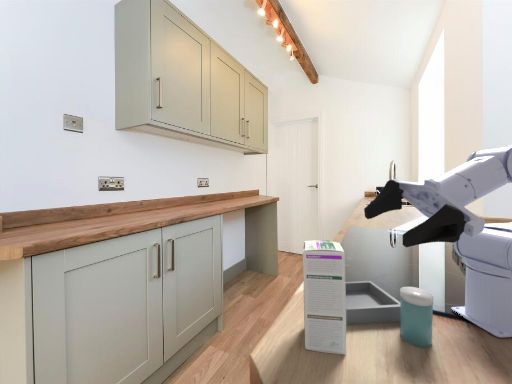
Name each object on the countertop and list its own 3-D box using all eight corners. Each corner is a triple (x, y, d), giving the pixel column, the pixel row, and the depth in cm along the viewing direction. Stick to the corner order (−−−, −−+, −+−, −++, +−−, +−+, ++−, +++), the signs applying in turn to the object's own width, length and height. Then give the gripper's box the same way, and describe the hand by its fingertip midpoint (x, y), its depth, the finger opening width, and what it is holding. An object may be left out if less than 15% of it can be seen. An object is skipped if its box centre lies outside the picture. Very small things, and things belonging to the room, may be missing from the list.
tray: (370, 292, 50) (370, 280, 50) (405, 320, 40) (405, 306, 40) (323, 294, 49) (323, 283, 49) (346, 324, 39) (346, 309, 39)
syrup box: (347, 356, 32) (347, 250, 31) (303, 350, 33) (302, 248, 32) (340, 330, 37) (341, 240, 37) (303, 326, 38) (303, 239, 38)
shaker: (417, 328, 38) (418, 286, 37) (439, 346, 33) (440, 298, 33) (393, 330, 37) (394, 287, 37) (413, 348, 33) (413, 300, 33)
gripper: (415, 154, 41) (350, 186, 40) (518, 187, 29) (429, 235, 28) (414, 186, 45) (354, 216, 44) (505, 228, 33) (425, 272, 31)
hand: (383, 226), depth 36 cm, fingers open, 7 cm apart
